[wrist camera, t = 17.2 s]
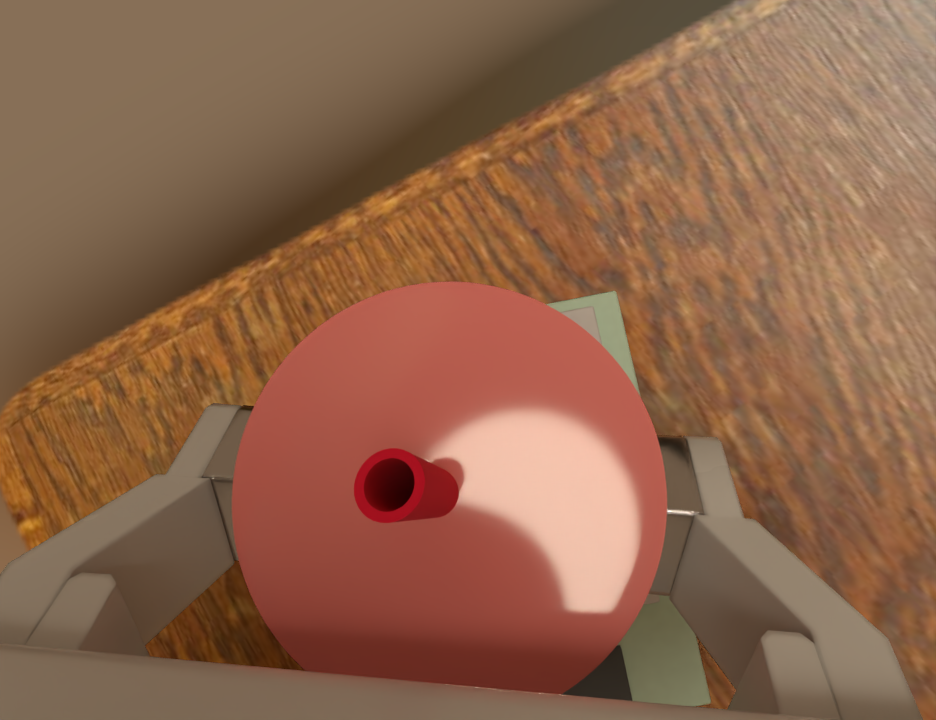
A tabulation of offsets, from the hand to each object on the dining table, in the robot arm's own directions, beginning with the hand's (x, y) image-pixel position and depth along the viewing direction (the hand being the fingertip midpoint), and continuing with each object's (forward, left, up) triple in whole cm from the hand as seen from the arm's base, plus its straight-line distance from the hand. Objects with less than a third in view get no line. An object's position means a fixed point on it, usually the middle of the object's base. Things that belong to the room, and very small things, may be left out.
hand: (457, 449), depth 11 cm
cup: (0, -1, -7) cm, 7 cm away
